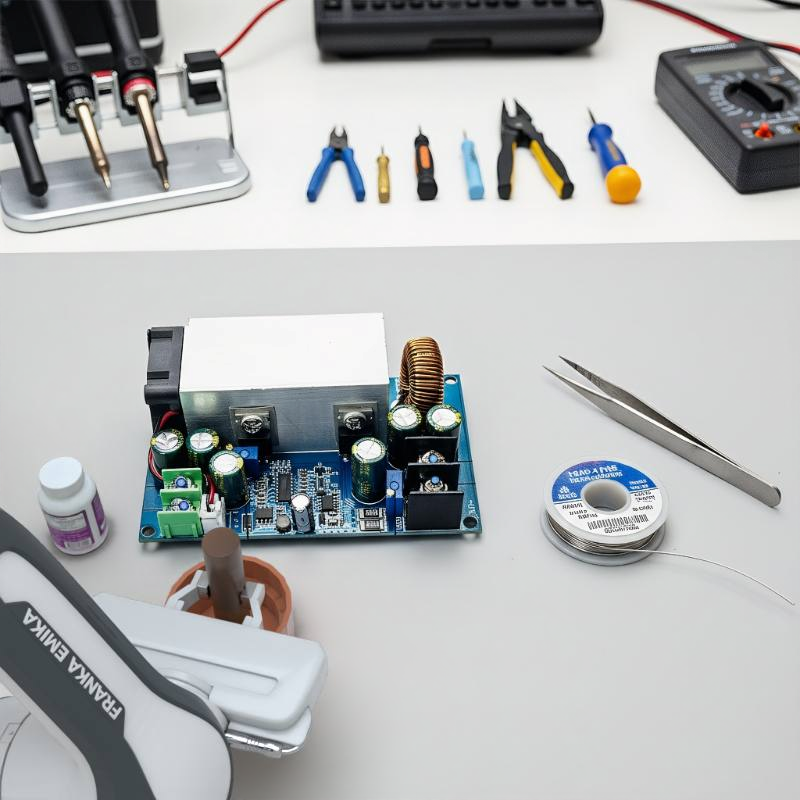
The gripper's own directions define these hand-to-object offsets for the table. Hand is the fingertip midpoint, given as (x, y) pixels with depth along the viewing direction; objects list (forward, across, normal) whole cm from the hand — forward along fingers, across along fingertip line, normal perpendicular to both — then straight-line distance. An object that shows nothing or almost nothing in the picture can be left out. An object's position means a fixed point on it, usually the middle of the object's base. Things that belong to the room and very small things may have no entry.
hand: (231, 580), depth 83 cm
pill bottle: (+8, +20, +11) cm, 24 cm away
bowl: (0, +1, +10) cm, 10 cm away
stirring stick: (-1, 0, +8) cm, 9 cm away
